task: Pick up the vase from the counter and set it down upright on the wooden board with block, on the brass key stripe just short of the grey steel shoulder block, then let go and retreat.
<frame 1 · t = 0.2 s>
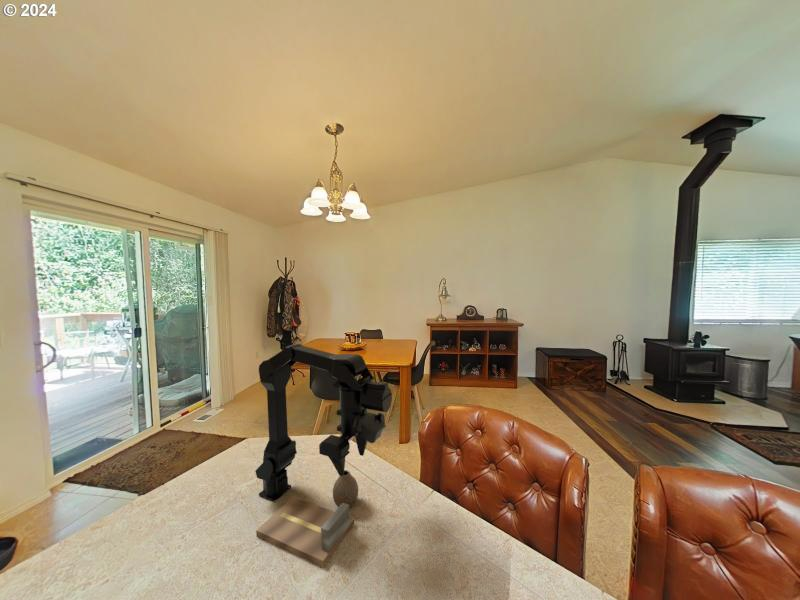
hand: (352, 464, 73), 14 cm above the table, fingers open, 9 cm apart
wooden board with block: (306, 530, 70), on the table
vase: (345, 504, 78), on the table
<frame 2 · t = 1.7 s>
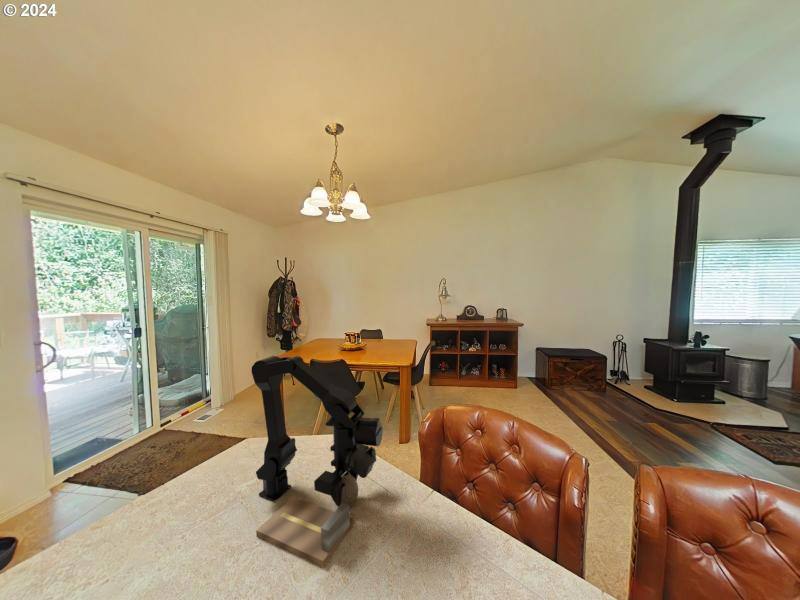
hand: (345, 496, 78), 2 cm above the table, fingers closed on vase, 7 cm apart
vase: (345, 504, 78), on the table, touching gripper
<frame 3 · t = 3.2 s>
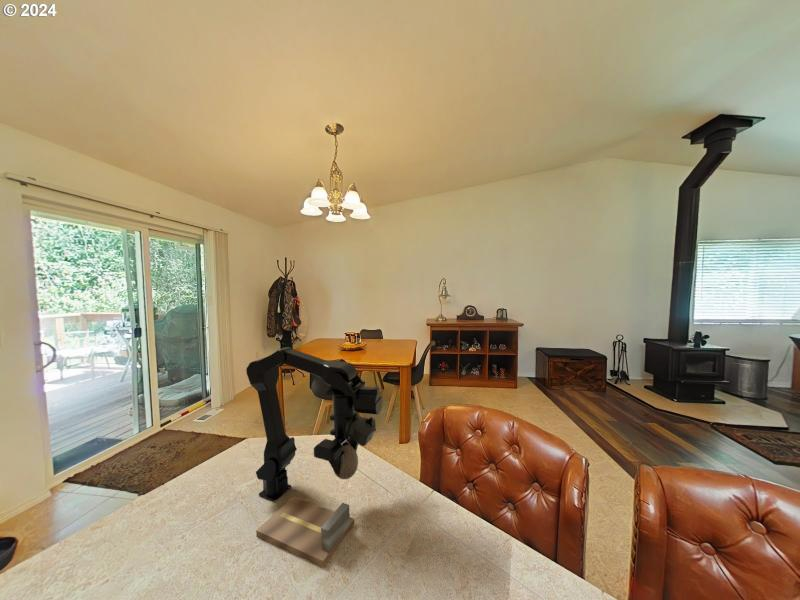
hand: (345, 466, 78), 10 cm above the table, fingers closed on vase, 6 cm apart
vase: (345, 475, 78), point 8 cm above the table, touching gripper
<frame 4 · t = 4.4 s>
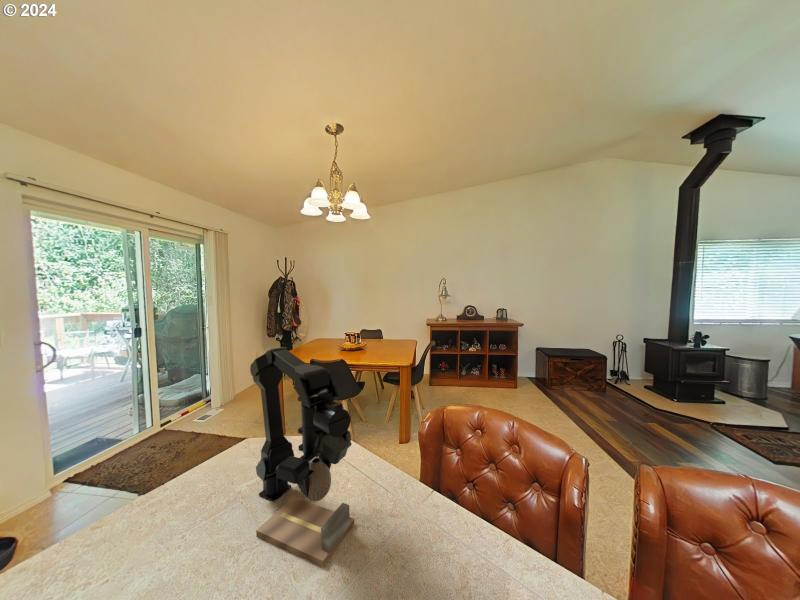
hand: (316, 486, 68), 12 cm above the table, fingers closed on vase, 6 cm apart
vase: (317, 496, 68), point 10 cm above the table, touching gripper
when the fingers open (5 cm above the table, at t = 6.1 s): vase drops 1 cm, resting on wooden board with block.
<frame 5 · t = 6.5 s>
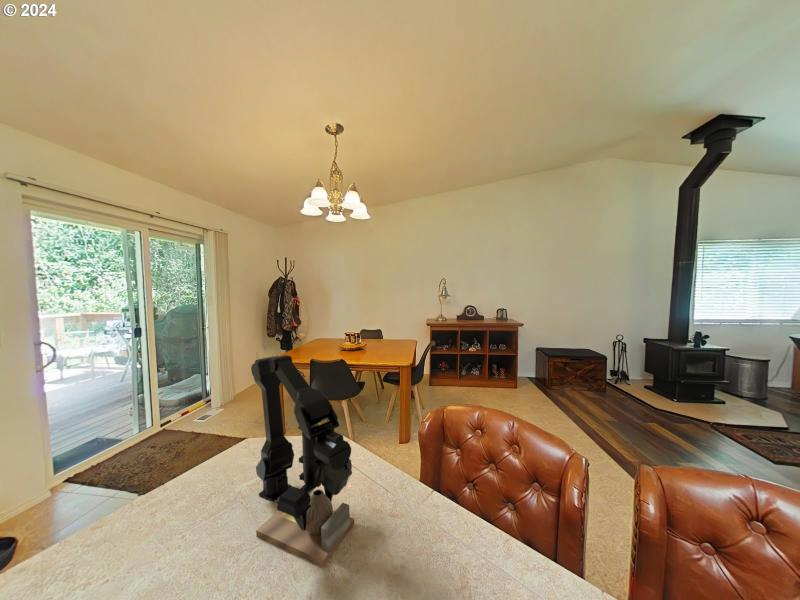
hand: (317, 514, 68), 5 cm above the table, fingers open, 9 cm apart
vase: (318, 529, 68), point 1 cm above the table, touching wooden board with block
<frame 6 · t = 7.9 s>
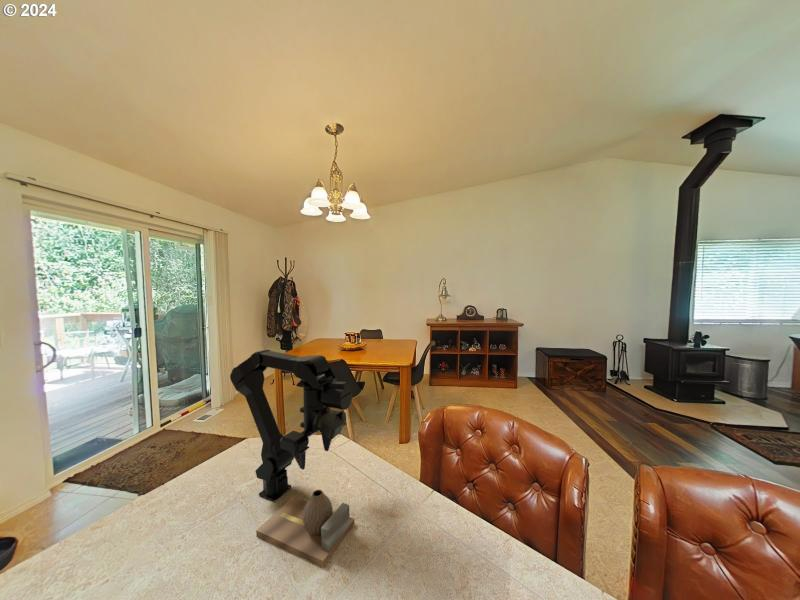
hand: (315, 459, 77), 13 cm above the table, fingers open, 9 cm apart
nothing on the table moved.
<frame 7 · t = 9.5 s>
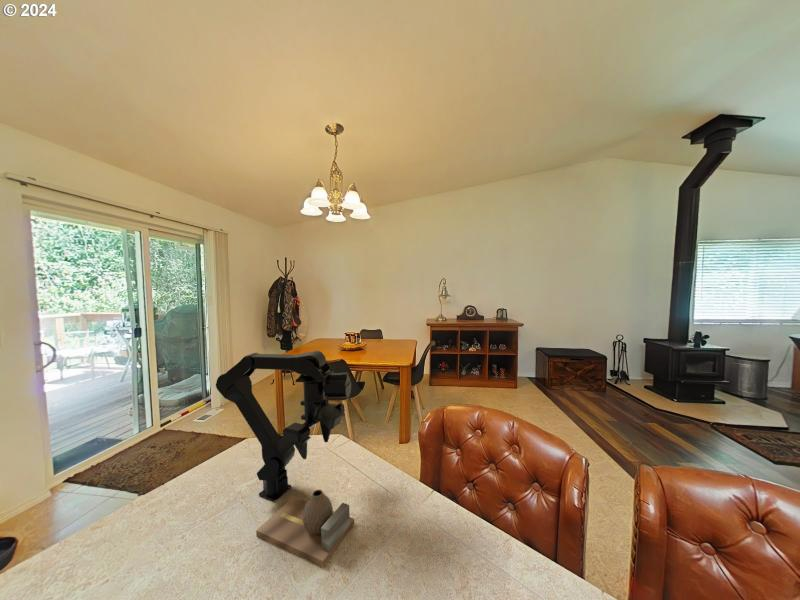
hand: (315, 449, 82), 13 cm above the table, fingers open, 9 cm apart
nothing on the table moved.
at the end: vase 0.2 cm from the target spot on the wooden board with block, point 1.3 cm above the wooden board with block's base; vase tilted 0°; the gripper is holding nothing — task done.
